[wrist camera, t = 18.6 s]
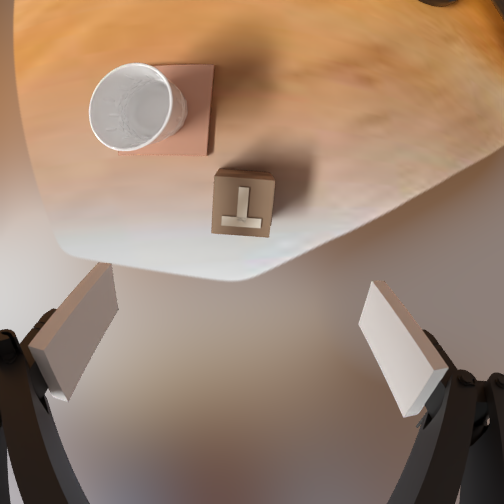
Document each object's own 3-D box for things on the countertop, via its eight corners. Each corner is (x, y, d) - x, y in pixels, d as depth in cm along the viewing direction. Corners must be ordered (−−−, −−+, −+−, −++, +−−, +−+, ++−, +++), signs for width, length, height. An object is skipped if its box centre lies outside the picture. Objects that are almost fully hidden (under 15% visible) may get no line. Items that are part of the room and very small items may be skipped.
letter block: (271, 172, 34) (277, 181, 28) (266, 220, 36) (271, 238, 31) (219, 168, 34) (214, 176, 28) (216, 216, 36) (211, 233, 30)
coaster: (214, 66, 29) (214, 64, 28) (207, 155, 33) (206, 156, 32) (126, 69, 28) (123, 68, 27) (120, 154, 32) (118, 155, 32)
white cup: (159, 158, 32) (127, 169, 23) (116, 115, 30) (73, 114, 20) (207, 109, 30) (192, 101, 21) (162, 67, 28) (132, 46, 18)
